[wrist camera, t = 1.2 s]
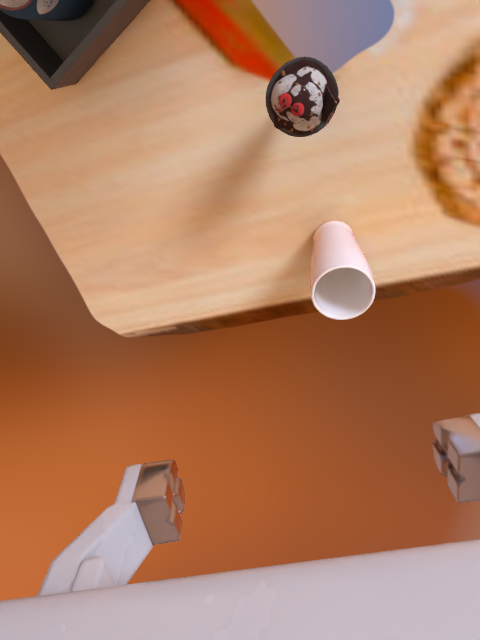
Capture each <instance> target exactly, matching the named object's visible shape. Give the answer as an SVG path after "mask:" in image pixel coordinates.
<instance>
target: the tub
mask: <svg viewBox="0 0 480 640" xmlns="http://www.w3.org/2000/svg"><path fill="white" fill-rule="evenodd" d="M149 1H150V0H92V1H91V4H90V6H89V8H88V10H87V11H86V12H85V14H84V15H82V16H81V17H80V18H78V19H76V20H73V21H50V20H30V19H18V18H15V17H12V16H10V15H8V14H6V13H4V12H3V11H1V10H0V33H1V34H2V35H3V36H4V37H5V38H6V39H7V40H8V42H9V43H10V44H11V45H12V46H13V47H14V48H15V49H16V51H17V52H18V53H19V54H20V55H21V56H22V57H23V58H24V60H25V61H26V62H27V63H28V64H29V65H30V66H31V67H32V69H33V70H34V71H35V72H36V73H37V74H38V75H39V76H40V78H41V79H42V80H43V81H44V82H45V83H46V84H47V85H48V87H49V88H50V89H51V90H53V89H57V88H61V87H65V86H69V85H74V84H76V83H77V82H78V81H79V80H80V79H81V78H82V77H83V75H84V74H85V73H86V72H87V71H88V70H89V69H90V68H91V66H92V65H93V64H94V63H95V62H96V61H97V60H98V59H99V57H100V56H101V55H102V54H103V53H104V52H105V51H106V49H107V48H108V47H109V46H110V45H111V44H112V43H113V42H114V40H115V39H116V38H117V37H118V36H119V35H120V34H121V33H122V31H123V30H124V29H125V28H126V27H127V26H128V25H129V24H130V22H131V21H132V20H133V19H134V18H135V17H136V16H137V15H138V13H139V12H140V11H141V10H142V9H143V8H144V7H145V5H146V4H147V3H148V2H149Z"/></svg>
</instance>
